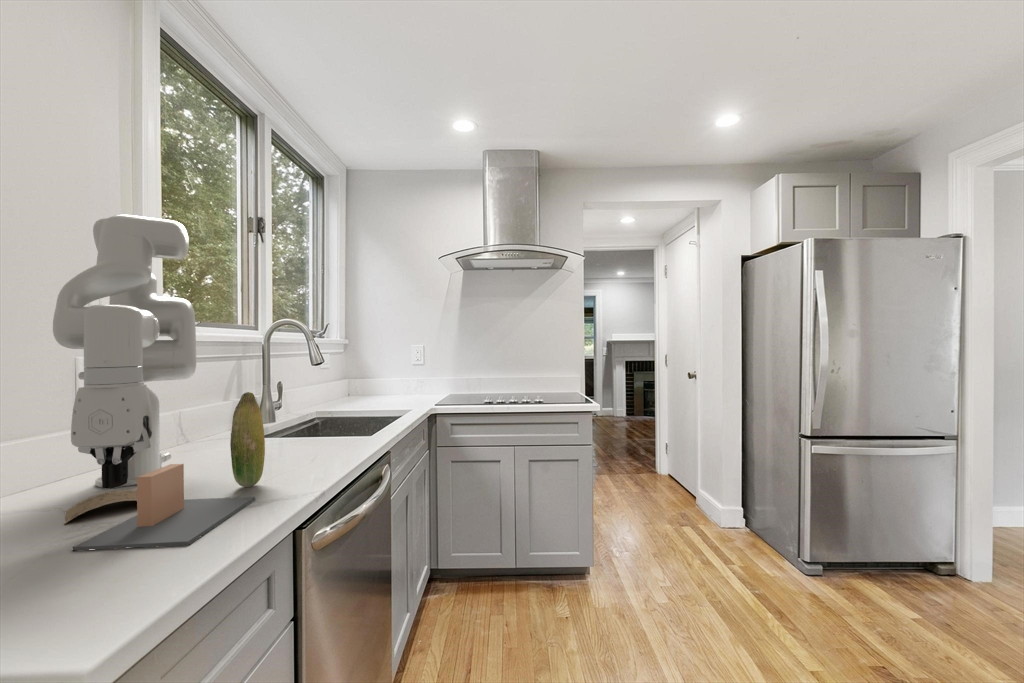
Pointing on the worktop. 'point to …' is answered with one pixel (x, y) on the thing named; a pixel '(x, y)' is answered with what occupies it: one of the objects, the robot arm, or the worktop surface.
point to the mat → (169, 526)
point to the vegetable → (247, 442)
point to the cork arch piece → (100, 502)
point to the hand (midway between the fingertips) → (115, 485)
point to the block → (160, 494)
